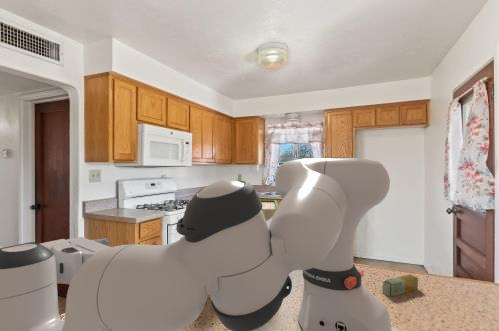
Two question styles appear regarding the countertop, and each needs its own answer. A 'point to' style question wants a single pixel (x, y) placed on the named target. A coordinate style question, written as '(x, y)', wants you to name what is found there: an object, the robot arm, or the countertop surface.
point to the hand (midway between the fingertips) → (117, 244)
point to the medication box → (400, 285)
